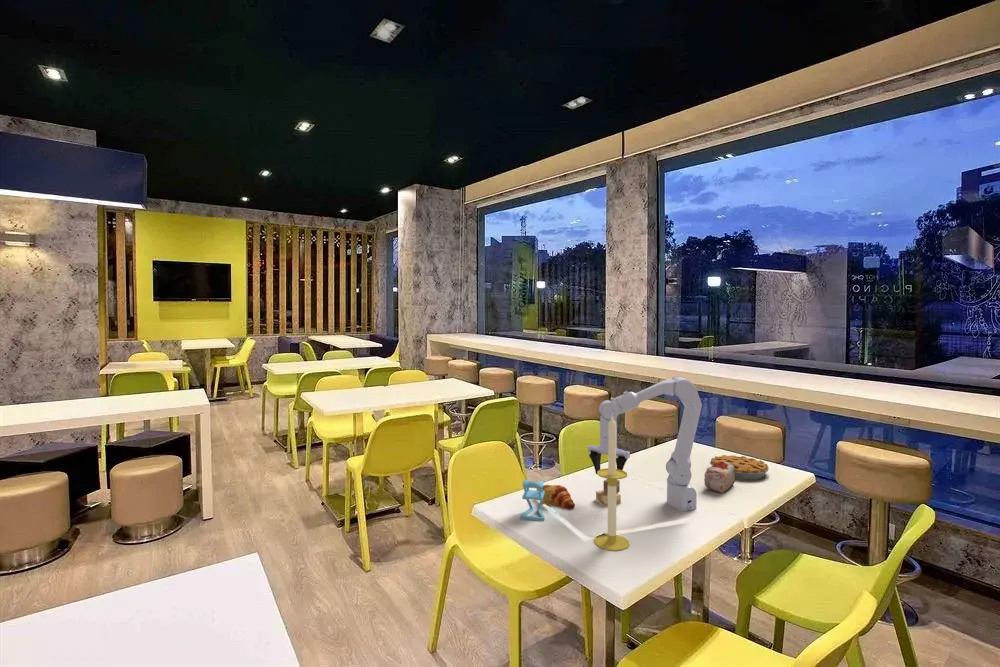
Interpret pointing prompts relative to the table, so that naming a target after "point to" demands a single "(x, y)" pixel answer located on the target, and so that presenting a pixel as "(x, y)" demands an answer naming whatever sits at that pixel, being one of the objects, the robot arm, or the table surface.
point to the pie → (744, 466)
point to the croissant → (557, 496)
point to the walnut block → (607, 486)
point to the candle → (612, 496)
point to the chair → (533, 495)
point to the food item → (719, 476)
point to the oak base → (606, 498)
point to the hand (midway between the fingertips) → (608, 475)
